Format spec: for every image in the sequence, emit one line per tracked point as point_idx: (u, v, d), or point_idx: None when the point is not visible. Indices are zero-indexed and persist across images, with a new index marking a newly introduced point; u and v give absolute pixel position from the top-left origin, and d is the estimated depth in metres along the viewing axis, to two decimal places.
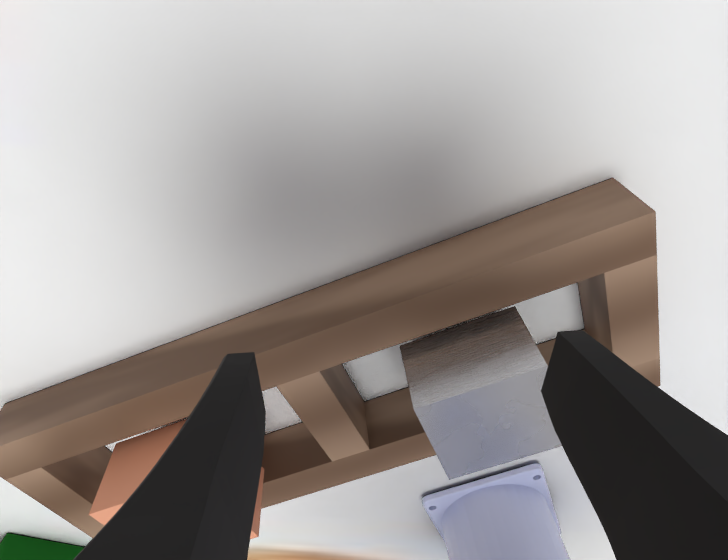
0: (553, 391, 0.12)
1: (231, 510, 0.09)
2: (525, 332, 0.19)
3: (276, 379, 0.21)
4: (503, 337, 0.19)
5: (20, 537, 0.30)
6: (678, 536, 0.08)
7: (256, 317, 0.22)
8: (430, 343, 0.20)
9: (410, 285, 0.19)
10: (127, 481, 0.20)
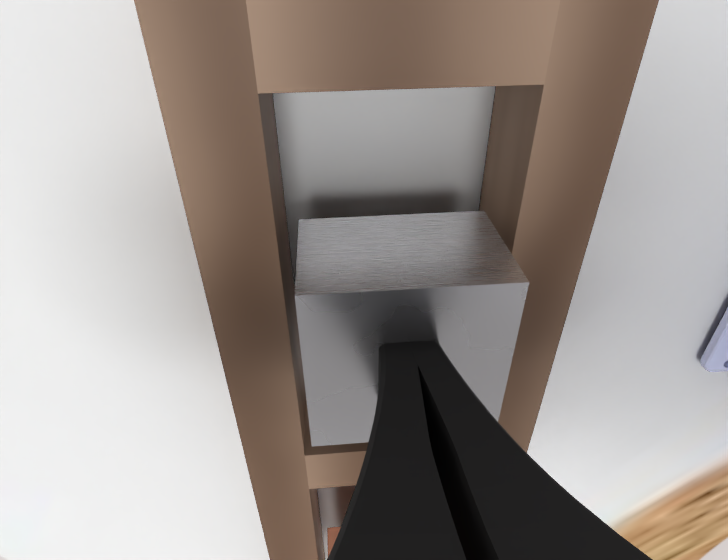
0: None
1: None
2: None
3: (298, 487, 0.18)
4: None
5: None
6: (466, 556, 0.08)
7: None
8: None
9: None
10: None
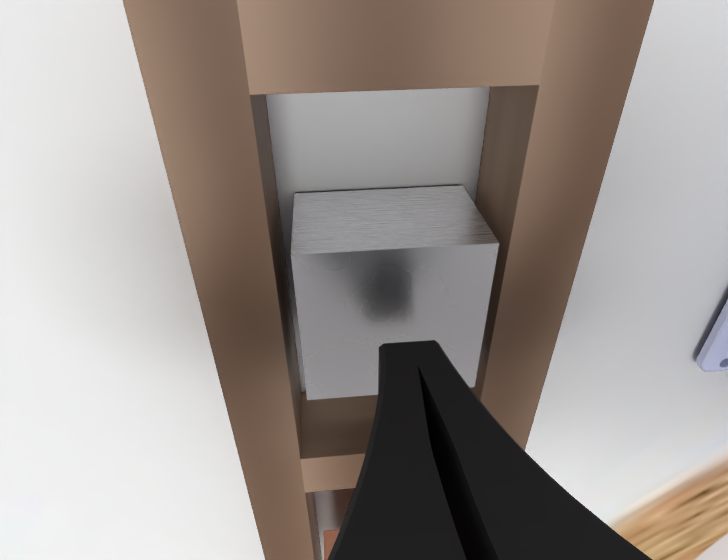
0: None
1: None
2: (293, 222, 0.13)
3: (294, 490, 0.18)
4: None
5: None
6: (466, 556, 0.08)
7: None
8: None
9: None
10: None
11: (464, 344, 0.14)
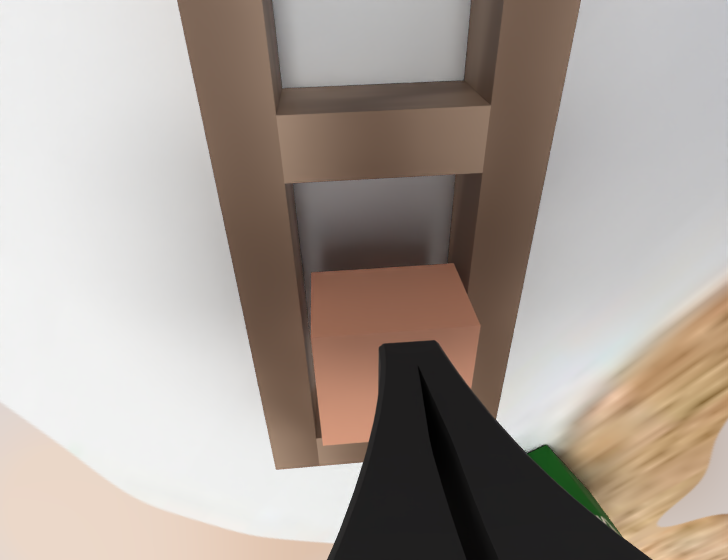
0: None
1: None
2: None
3: (271, 178, 0.14)
4: None
5: None
6: (466, 556, 0.08)
7: None
8: None
9: None
10: None
11: None
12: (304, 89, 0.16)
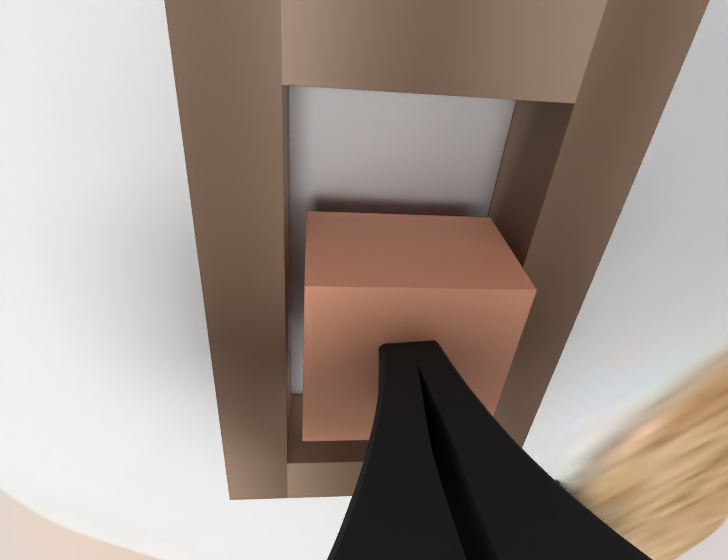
0: None
1: None
2: None
3: (262, 72, 0.09)
4: None
5: None
6: (466, 556, 0.08)
7: None
8: None
9: None
10: None
11: None
12: None
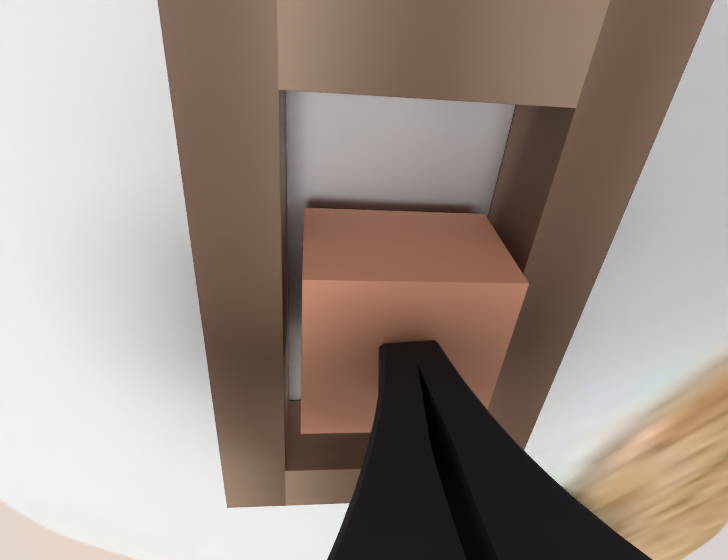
0: None
1: None
2: None
3: (258, 77, 0.09)
4: None
5: None
6: (466, 556, 0.08)
7: None
8: None
9: None
10: None
11: None
12: None
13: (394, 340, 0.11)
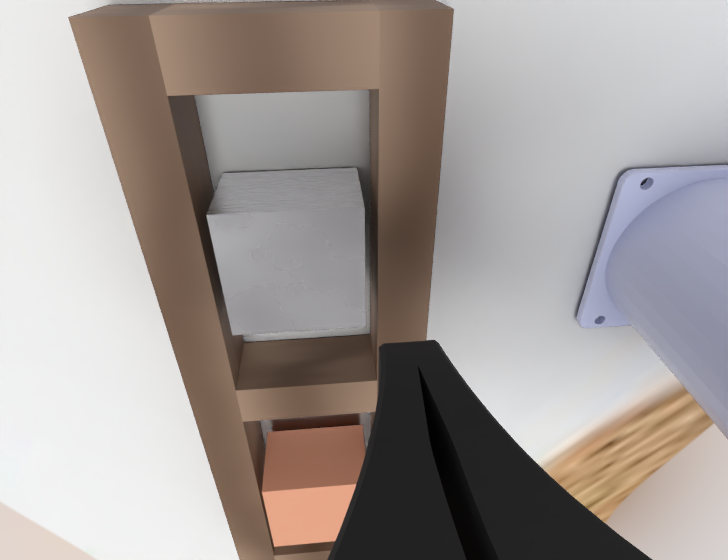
0: None
1: None
2: None
3: (233, 419, 0.22)
4: None
5: None
6: (466, 556, 0.08)
7: None
8: None
9: None
10: None
11: (351, 290, 0.17)
12: (258, 345, 0.23)
13: (310, 508, 0.24)
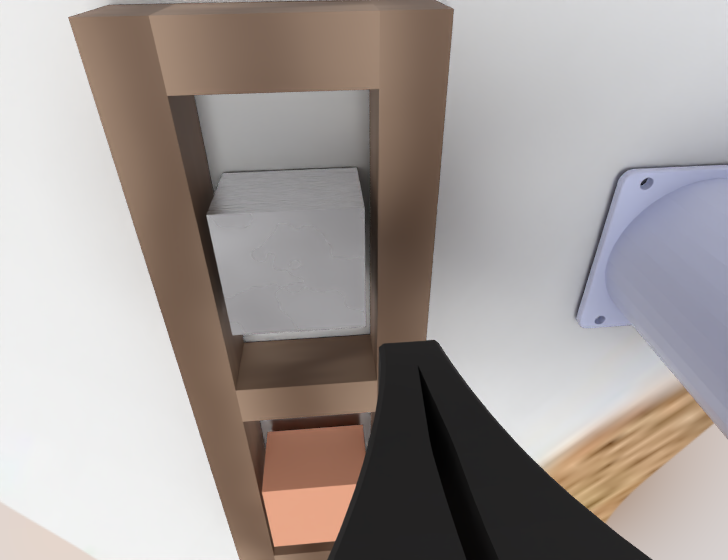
0: None
1: None
2: None
3: (233, 419, 0.22)
4: None
5: None
6: (466, 556, 0.08)
7: None
8: None
9: None
10: None
11: (351, 290, 0.17)
12: (258, 345, 0.23)
13: (310, 508, 0.24)
